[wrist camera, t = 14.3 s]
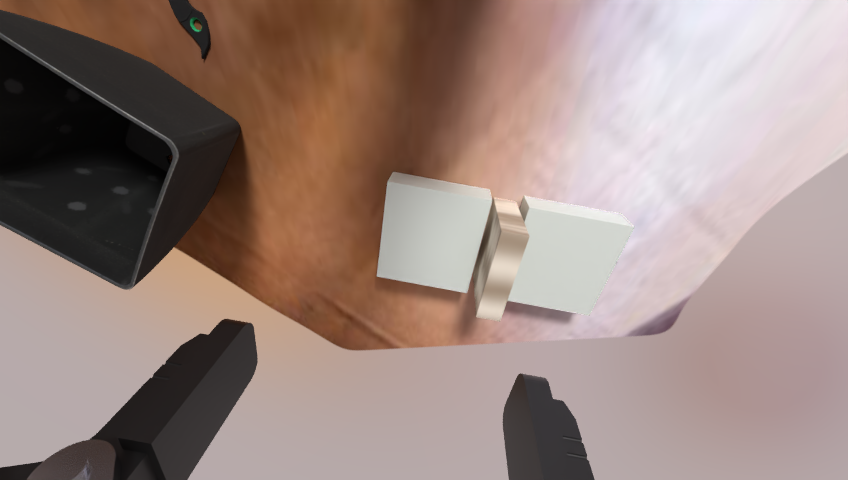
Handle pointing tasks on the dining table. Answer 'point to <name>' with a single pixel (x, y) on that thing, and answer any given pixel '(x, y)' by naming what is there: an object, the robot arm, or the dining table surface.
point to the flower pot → (101, 150)
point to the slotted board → (463, 230)
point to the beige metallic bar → (498, 258)
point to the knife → (192, 23)
